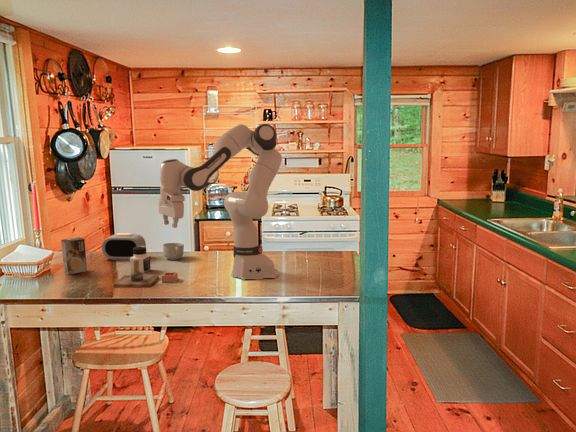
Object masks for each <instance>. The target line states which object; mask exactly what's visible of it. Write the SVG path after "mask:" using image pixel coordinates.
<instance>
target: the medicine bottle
mask: <svg viewBox="0 0 576 432" xmlns="http://www.w3.org/2000/svg"><path fill="white" fill-rule="evenodd" d="M133 255H134V256H133V257H131V258H130V260H129V265H130V266H129V268H130V269H129V270H130V271H129V272H130V273H132V272H134V267H133V260H139V272H143V274H145V273H146V272H148V271H150V270H151V269H152V268H151V267H152V265H151V255H147V246H146V247H144V246H137V247H134V248H133Z"/></svg>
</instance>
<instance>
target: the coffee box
mask: <svg viewBox="0 0 576 432" xmlns="http://www.w3.org/2000/svg"><path fill="white" fill-rule="evenodd" d="M61 250H62V251H61V252H62V262H63V263H62V264H63V272H64V273H65V274H67V275H73V274H78V273H79V274H80V273H85V272H88V267H87V255H86V243H85V238H83V237H79V236H78V237H71V238H64V239H61Z"/></svg>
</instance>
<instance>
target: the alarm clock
mask: <svg viewBox="0 0 576 432" xmlns="http://www.w3.org/2000/svg"><path fill="white" fill-rule="evenodd" d="M101 243H102V244H101V252H102V254H103V256H104V257H105V258H107V259H110V260H111V261H130V258H131V257H133V256H134V255H133V248H134V247H137V246H144V247H146V248H147V244H146V240H145V238H144V237H143V236H142V235H140V234H136V233H135V234H134V233H133V234H132V233H130V232H129V233H127V232H125V233H123V232H121V233H119V232H118V233H115V234H112V235H110V236H109V237H107V238H105V239H104V240H103V241H102V242H101Z"/></svg>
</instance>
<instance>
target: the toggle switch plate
mask: <svg viewBox="0 0 576 432" xmlns="http://www.w3.org/2000/svg"><path fill="white" fill-rule="evenodd" d="M133 267H134V272H130V274H127V275H126V274H125V275H123V276H121V278H119V279H118V280H117V281H116V282H114V283H113V287H114V288H151V287H152V286H154V284H155V283H156V282H157V281H158V280H159V278H160V275H155V274H154V275H153V274H152V275H149V274H148V275H143V274H144V273H143V272H139V260H133Z"/></svg>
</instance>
